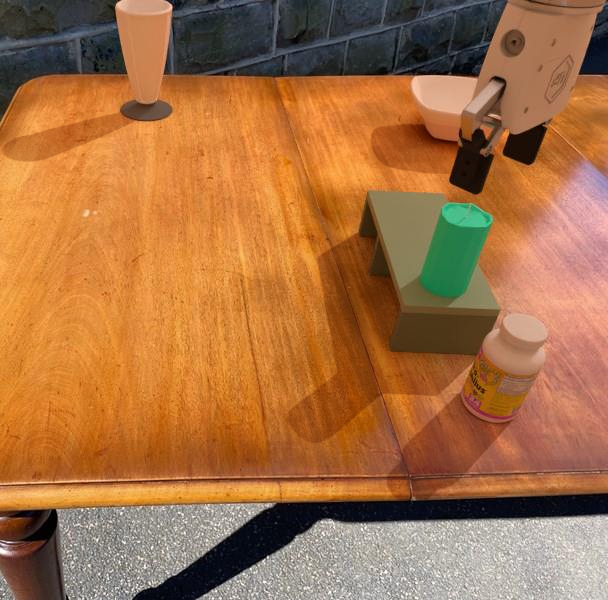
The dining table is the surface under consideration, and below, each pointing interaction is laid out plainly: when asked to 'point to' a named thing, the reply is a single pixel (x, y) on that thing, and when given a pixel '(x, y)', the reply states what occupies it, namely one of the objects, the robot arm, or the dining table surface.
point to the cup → (144, 54)
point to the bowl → (444, 103)
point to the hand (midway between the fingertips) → (491, 173)
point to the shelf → (406, 277)
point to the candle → (455, 249)
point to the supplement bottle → (505, 368)
